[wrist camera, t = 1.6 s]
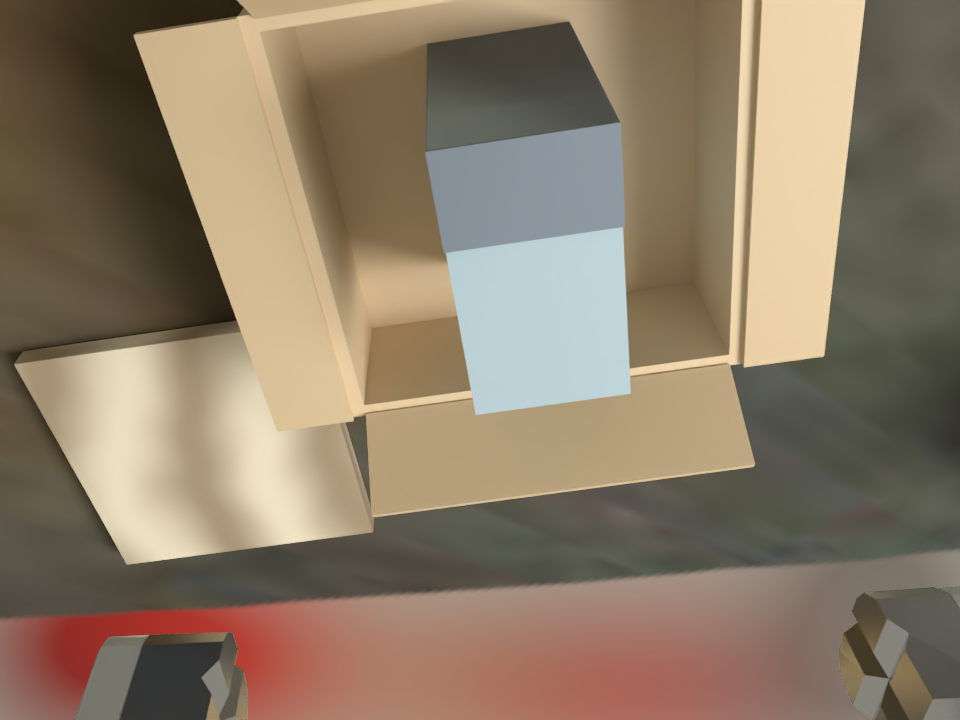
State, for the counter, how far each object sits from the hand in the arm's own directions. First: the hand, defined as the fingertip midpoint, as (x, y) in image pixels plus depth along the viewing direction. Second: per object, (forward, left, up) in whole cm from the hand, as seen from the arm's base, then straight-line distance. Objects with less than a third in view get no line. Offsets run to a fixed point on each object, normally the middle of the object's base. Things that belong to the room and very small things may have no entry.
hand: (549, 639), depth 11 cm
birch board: (+15, +16, -25) cm, 33 cm away
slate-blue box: (-1, +3, -25) cm, 25 cm away
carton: (-1, +3, -25) cm, 25 cm away
